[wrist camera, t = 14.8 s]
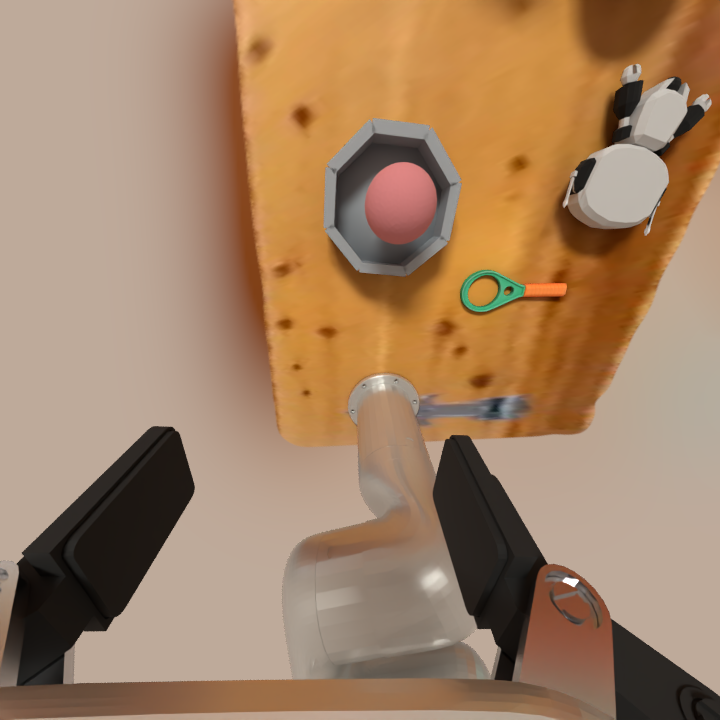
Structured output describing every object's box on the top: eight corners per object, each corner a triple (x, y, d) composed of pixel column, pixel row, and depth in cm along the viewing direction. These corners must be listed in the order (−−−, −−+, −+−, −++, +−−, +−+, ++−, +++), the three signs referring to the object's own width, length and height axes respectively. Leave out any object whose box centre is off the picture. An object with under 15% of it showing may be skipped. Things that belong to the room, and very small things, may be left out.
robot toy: (602, 74, 31) (540, 215, 36) (642, 45, 27) (565, 210, 32) (688, 110, 33) (616, 240, 38) (738, 89, 29) (650, 239, 34)
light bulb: (361, 240, 36) (364, 244, 25) (363, 176, 33) (368, 150, 22) (413, 242, 36) (439, 247, 26) (420, 179, 33) (453, 155, 23)
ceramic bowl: (466, 217, 36) (481, 216, 32) (376, 292, 40) (379, 299, 36) (399, 100, 31) (406, 80, 27) (303, 199, 35) (296, 195, 31)
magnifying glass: (456, 310, 42) (460, 313, 41) (462, 270, 40) (466, 271, 38) (552, 308, 42) (560, 310, 41) (564, 267, 40) (573, 269, 38)
